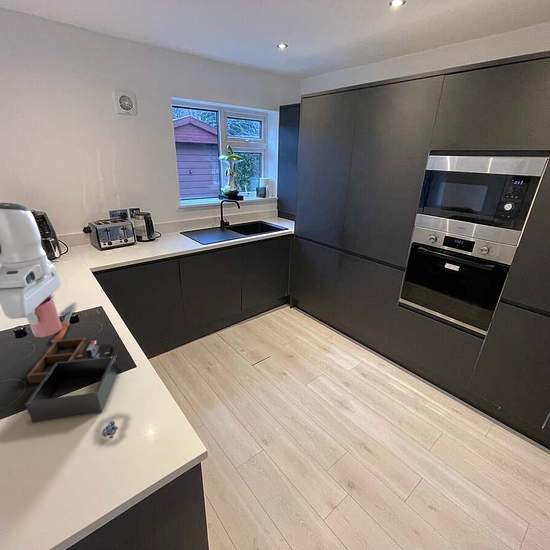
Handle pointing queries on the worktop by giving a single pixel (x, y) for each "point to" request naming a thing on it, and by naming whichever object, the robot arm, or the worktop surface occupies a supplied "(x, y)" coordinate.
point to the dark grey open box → (69, 406)
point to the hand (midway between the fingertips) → (43, 316)
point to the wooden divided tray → (56, 357)
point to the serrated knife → (64, 324)
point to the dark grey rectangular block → (92, 349)
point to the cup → (46, 319)
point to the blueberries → (110, 429)
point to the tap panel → (102, 352)
